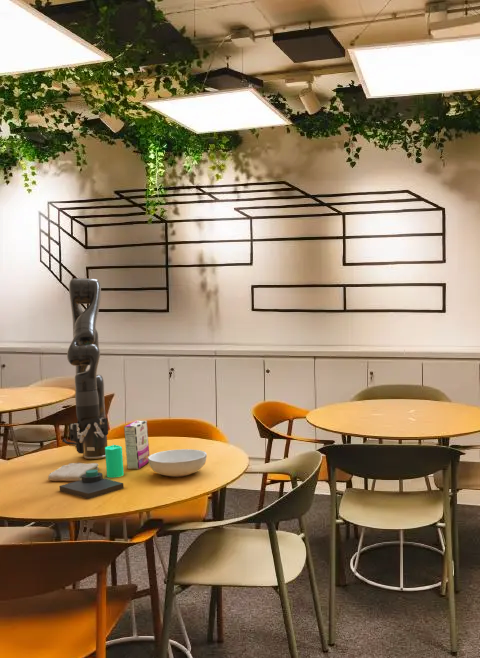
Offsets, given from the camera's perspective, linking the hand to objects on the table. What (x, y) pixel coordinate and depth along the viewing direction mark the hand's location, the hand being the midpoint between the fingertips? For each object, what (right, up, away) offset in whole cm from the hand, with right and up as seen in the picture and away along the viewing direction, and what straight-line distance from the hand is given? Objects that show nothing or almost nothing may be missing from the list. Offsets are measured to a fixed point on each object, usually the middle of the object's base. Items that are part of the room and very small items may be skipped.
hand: (90, 450), depth 231 cm
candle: (+5, -10, +13) cm, 17 cm away
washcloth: (-10, -11, +15) cm, 21 cm away
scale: (+2, -13, -5) cm, 14 cm away
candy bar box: (+11, -9, +26) cm, 29 cm away
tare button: (0, -9, +1) cm, 9 cm away
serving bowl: (+28, -10, +12) cm, 32 cm away
